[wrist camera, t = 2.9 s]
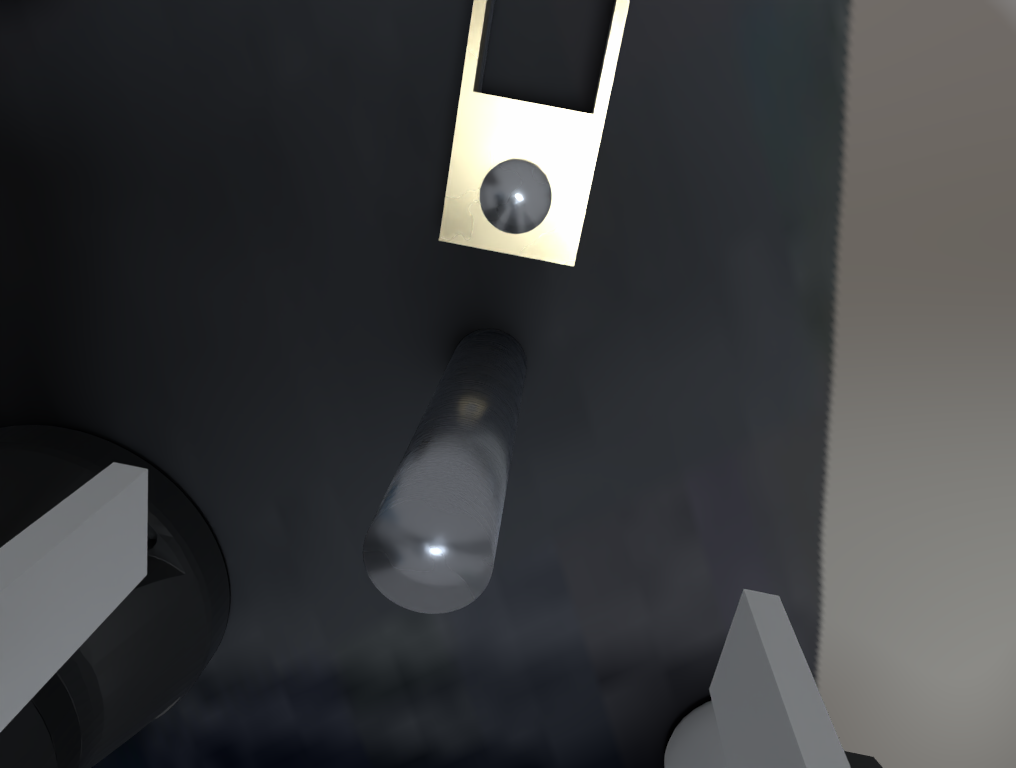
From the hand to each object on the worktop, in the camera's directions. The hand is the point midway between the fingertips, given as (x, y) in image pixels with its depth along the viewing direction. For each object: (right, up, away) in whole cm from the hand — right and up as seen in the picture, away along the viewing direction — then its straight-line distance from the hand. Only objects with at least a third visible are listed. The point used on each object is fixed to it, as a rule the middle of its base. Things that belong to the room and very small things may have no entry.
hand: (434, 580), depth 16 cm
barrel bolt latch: (+3, +16, +10) cm, 19 cm away
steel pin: (+1, +5, +14) cm, 15 cm away
